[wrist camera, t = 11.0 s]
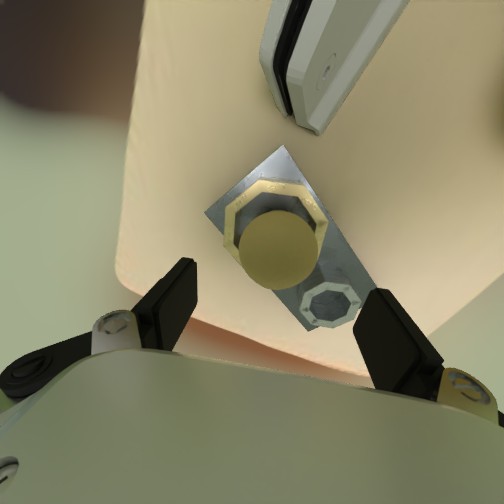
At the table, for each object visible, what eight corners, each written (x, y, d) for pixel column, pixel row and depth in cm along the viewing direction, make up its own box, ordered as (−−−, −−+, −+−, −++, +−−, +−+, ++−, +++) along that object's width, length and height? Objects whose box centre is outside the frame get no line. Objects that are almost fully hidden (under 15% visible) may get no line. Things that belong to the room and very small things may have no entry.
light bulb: (270, 259, 25) (266, 317, 16) (238, 217, 23) (214, 257, 14) (316, 231, 23) (342, 280, 14) (285, 183, 21) (292, 204, 12)
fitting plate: (282, 145, 21) (283, 143, 17) (378, 290, 27) (396, 314, 23) (207, 209, 25) (194, 220, 21) (306, 323, 31) (311, 349, 27)
